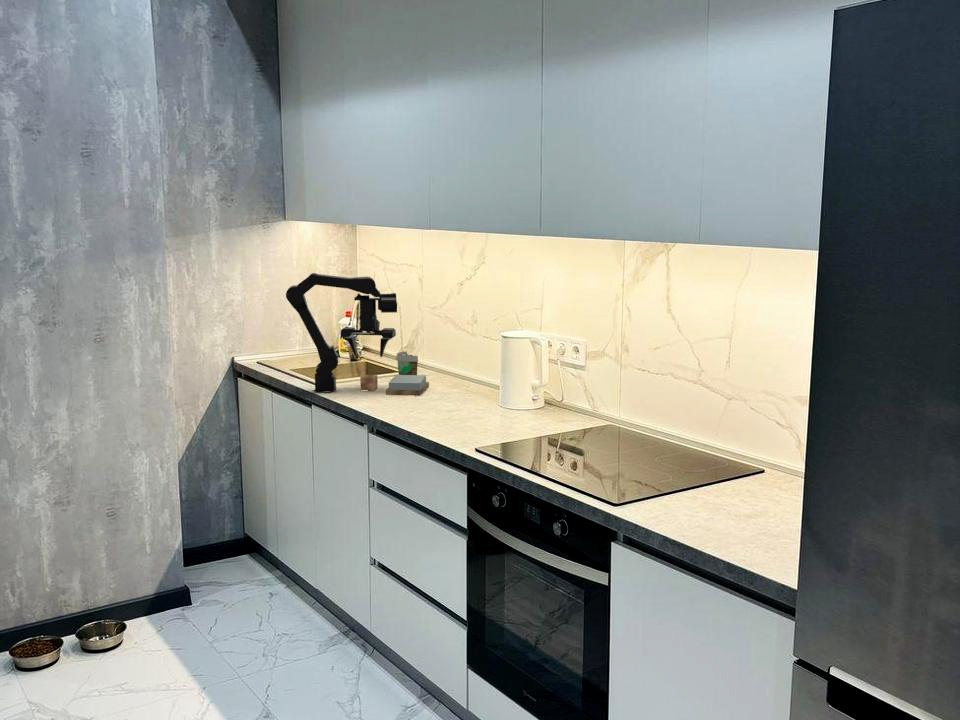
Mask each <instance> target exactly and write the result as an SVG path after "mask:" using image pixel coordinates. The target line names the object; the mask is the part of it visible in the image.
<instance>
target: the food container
mask: <svg viewBox="0 0 960 720" xmlns="http://www.w3.org/2000/svg"><path fill="white" fill-rule="evenodd" d="M395 360H396V361H397V367H398V368H397V369H398V370H397V372H398V373H397V374H398V375H418V362H419V357H418V355H413V354H408V351H400V352H397V353H396V357H395Z"/></svg>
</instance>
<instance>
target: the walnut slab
mask: <svg viewBox="0 0 960 720" xmlns="http://www.w3.org/2000/svg"><path fill="white" fill-rule="evenodd" d="M429 388H430V382H429V381H426V383H425V384H424V386H423V387H422V388H421V390H389V387H387V388H386V389H385V395H386V396H390V395H391V396H408V395H418V396H419V397H420V396H421V395H422V394H423V393H425V392H426V390H428V389H429ZM418 396H417V397H418Z"/></svg>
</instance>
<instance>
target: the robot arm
mask: <svg viewBox="0 0 960 720" xmlns="http://www.w3.org/2000/svg"><path fill="white" fill-rule="evenodd" d="M314 286H323V287H330V288H331V287H332V288H339V289H349V290H351V291H354V292H358V293H357V295H356V296H355V297H353V300H354V301H359V318H358V320H359V329H356V328H355V327H354V326H353V327H349V326H347V327H343V328H341V329H340V332H339V334H340V338H343V339H344V340H346V341H347V343H348V344H349V346H350V348H351V350H352V352H353V355H354V357H357V356H358V354H357V353H358V352H357V351H358V350H357V342H356V341H357V336H381V338H380V343H379V344H380V346H379V347H380V348H379V355H380V356H379V357H380V358H383V356H384V352H385V349H386V345H387V343H388V342H389V341H390V340H392V339H393V338H395V337H396V336H397V333H396V329H395V328H394V327H384V328H383V329H380V324H381V321H379V319H378V318H377V317H378V316H377V310H378V311H380V313H381V314H383V313H384V314H385V313H387V314H388V313H392V314H393V313H398V302H397V293H396V292H391V293H381V292H380V290H379V289H378V288H377V286H376V281H375V280H374V279H373V278H372V277H371V276H356V277H345V276H338V275H336V276H335V275H329V274H319V273H317V272H312V273H310V274H309V276H306V278H305V279H303V280H301V281H300V282H299V283H297V285H295V284H293V285H291V286H290V287H288V288H287V290H286V293H285V297H286V298H285V299H286V300H287V301H288V302H289V304H290V305H291V307H292V308H293V309H294V310H295V311H296V313H298V315H299V318H300V319H301V320H302V323H303V325H304V326H305V328H306V330H307V332H308V333H309V336H310V338H311V340H312V341H313V344H314V345H315V347H316V350H317V354H318V357H319V360H320V362H319V363H318V364H316V368H315V372H316V373H314V389H313V392H314V391H332V392H334V391H335V390H336V389H337V377H336V376H335V372H333V371H334V370H335V369H336V368H337V367H338V366H339V353H338V352H337V351H336V349H335V346H334V344H332V345H329V343H328V342H327V341H326V340H325V338H324V335H323V333H322V331H321V330H320V328H319V325H318V324H317V322H316V320H315V318H314V316H313V314H312V312H311V311H310V309H309V306H308V302H307V300H306V295H305V294H306V293H308V292H309V291H310V290H312V288H313V287H314ZM363 294H364V295H363ZM370 295H371V296H372V297H370ZM334 389H335V390H334ZM333 390H334V391H333Z"/></svg>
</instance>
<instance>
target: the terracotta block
mask: <svg viewBox="0 0 960 720" xmlns="http://www.w3.org/2000/svg"><path fill="white" fill-rule="evenodd" d="M359 378H360V381H359V382H360V387H359V388H360V391H361V390H368V391H367V392H375V391H377V390H378V387H379V386H378V383H379V382H378V375H377V374H362V376H360V377H359ZM376 389H377V390H376Z"/></svg>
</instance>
